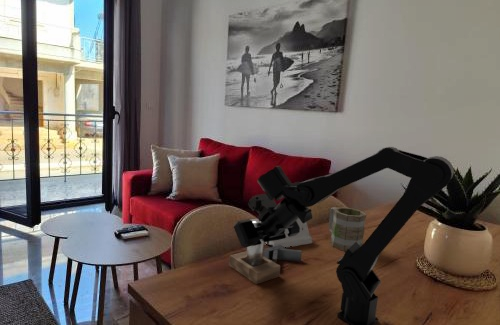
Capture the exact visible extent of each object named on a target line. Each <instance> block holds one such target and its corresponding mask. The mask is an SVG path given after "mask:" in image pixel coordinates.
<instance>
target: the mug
mask: <svg viewBox="0 0 500 325" xmlns="http://www.w3.org/2000/svg"><path fill="white" fill-rule="evenodd" d="M366 218H367V214H366V213H365V212H364V211H362V210H360V209H356V208H352V207H343V206H342V207H336V206H334V207H331V208H330V210H329V221H328V229H329V232H330V233H331V236H330V240H329V243H330V245H331V247H332V248H333V249H334V248H335V249H338V250H340V251H343V252H346V251H347V249H348V248H349V247H350V246H351V245H353V244H354V243H355V242H357V243H358V244H359V245H360V246H361V245H362V244H363V240H364V236H365V226H366Z"/></svg>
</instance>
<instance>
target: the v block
mask: <svg viewBox="0 0 500 325" xmlns="http://www.w3.org/2000/svg"><path fill="white" fill-rule="evenodd" d="M302 255H303V251H302V250H300V249H299V250H298V249H292V248H291V249H289V248H285V247H284V246H282V245H277V246H273V245H272V246H270V247H266V248H264V249H263V256H264V257H266V258H267V259H269V260H271V261H273V262H274V263H276V264H278V263H277V261H278V260H281V261H282V260H283V261H291V262H298V263H301V262H302Z"/></svg>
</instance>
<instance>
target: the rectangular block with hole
mask: <svg viewBox="0 0 500 325" xmlns="http://www.w3.org/2000/svg"><path fill="white" fill-rule="evenodd" d="M246 258H247V250H245V251H242V252H237V253H235V254H234V253H233V254H230V255H229V259H228V267H230V268H232V269H233V270H235V271H236V272H238V273H239V274H240V275H242V276H243V277H245V278H246V279H248V280H249V281H250V282H252V283H254V284H256V285H259V284H261V283H264V282H267V281H269V280H273V279H277V278H279V277H280V273H281V265H280V264H278V263H277V264H276V263H274V262H273V261H272V260H269V259H267V258H266V257H264V255H263V261H262V264H261V265H258V266H254V267H252V266H251V265H249V264H247V263H246Z"/></svg>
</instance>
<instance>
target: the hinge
mask: <svg viewBox="0 0 500 325" xmlns="http://www.w3.org/2000/svg"><path fill="white" fill-rule="evenodd" d="M296 221H297V223H298V225H299V227H300V232H299V233H298V234H297V235H295V236H291V237H289V236H288V233H289V231H288V229H285V232H284V233H285V235H286V238H284V239H280V240H274V241H268V242H264V244H265V243H266V244H267V245H269V246H272V247H273V246H277V245H282V246H284V247H286V248H291V247H290V246H292V247H297V246H303V245H310V244H313V238H312V236H311V235H310V232H309V227H308V223H307V222H308V221H307V222H306V223H302V222H301V220H300V219H299V218H298V219H297V220H296ZM266 244H265V245H266Z"/></svg>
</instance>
